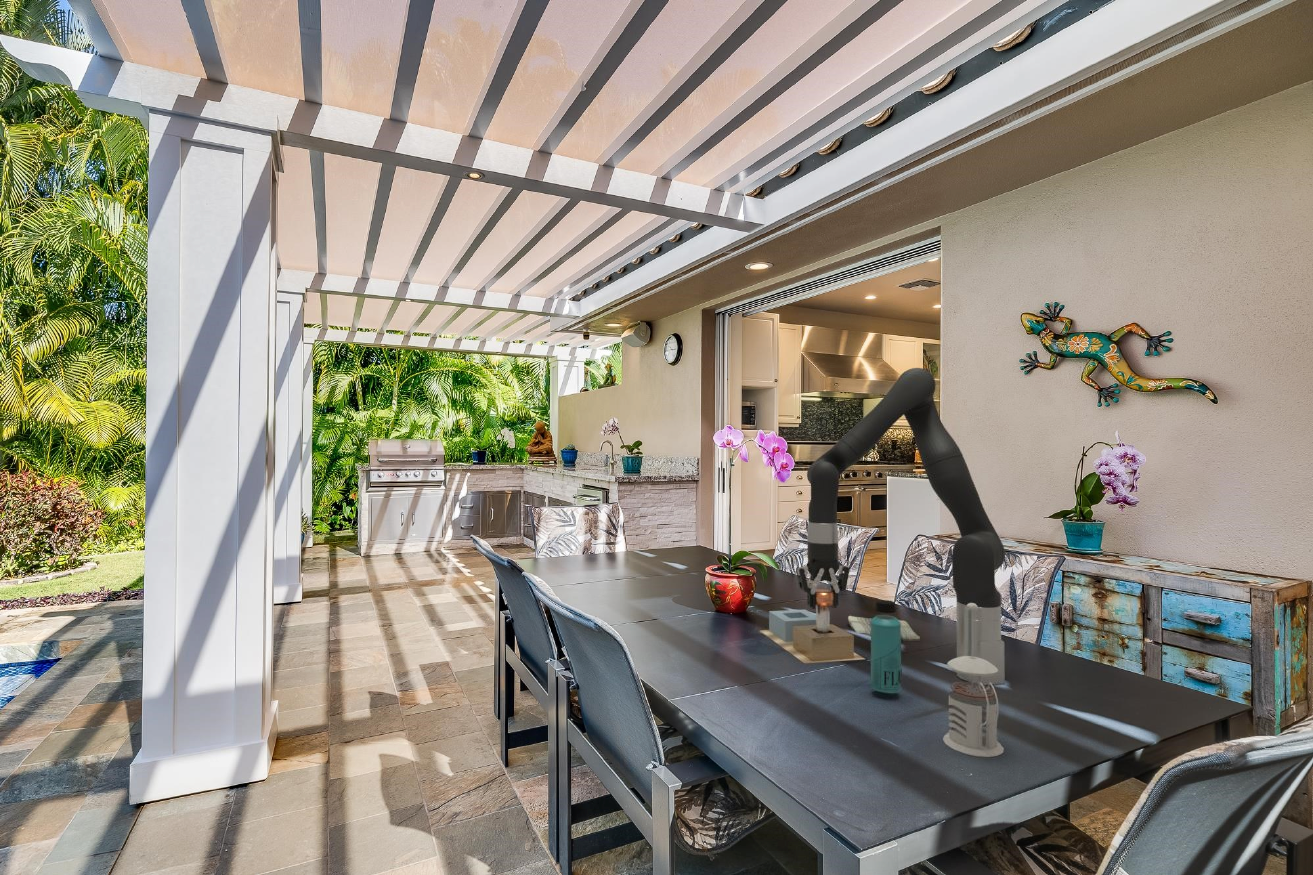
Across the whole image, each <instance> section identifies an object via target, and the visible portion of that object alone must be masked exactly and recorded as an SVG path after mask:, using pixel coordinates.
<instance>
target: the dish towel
mask: <svg viewBox="0 0 1313 875" xmlns="http://www.w3.org/2000/svg"><path fill="white" fill-rule="evenodd" d="M872 619H873V618H869V617H868V618H867V617H862V616H860V617H859V616H853V615H849V616H848V617H847V620H848V623H849V626H850V628H851V629H853V630H854V631H855V633H856V634H865V635H867V636H869V637H871V623H870V621H871V620H872ZM898 620H899V621H900V623H901V635H902V636H901V640H902V642H914V641H921V639H920V638H921V637H920V636H919V635H917V633H916V632H914V630H913V629H912V628H911V626H910V624H909V623H908V622H907V621H906V620H900V619H898Z"/></svg>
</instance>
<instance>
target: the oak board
mask: <svg viewBox="0 0 1313 875" xmlns="http://www.w3.org/2000/svg"><path fill="white" fill-rule="evenodd" d="M759 634H763V635H765V637H768V638H769V639H770V640H772V641H773V642H774V643H776V644H777V645H778V646H780V647H781V648H783V649H784V650H786V652H788V653H789V654H791V655H792V656H794V657H795V658H797V659H798V660H799V661H800V662H802V663H803V664H814V663H815V664H817V663H818V664H819V663H828V662H829V663H832V662H843V661H844V662H845V661H858V660H859V661H860V660H862V661H863V660H865V658H864V657H862V656H861V655H859V654H857V653H856V652H854V658H852V659H838V660H823V661H811V660H810V659H808V658H807V657H806V656H804V655H803V654H801V653H800V652H798V651H797V650H796V649H794V648H793V642H784V641H783V640H781V639H780V638H778V637H777V636H776V635H774V634H773V633H771V632H770V631H769V629H763V630H760V629H759Z"/></svg>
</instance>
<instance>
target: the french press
mask: <svg viewBox="0 0 1313 875" xmlns="http://www.w3.org/2000/svg"><path fill="white" fill-rule="evenodd" d="M966 609H967V610H971V631H972V656H962V657H958V658H957V657H955V658H952V659H951V660H948V662H947V663H946V664H947V666H948V667H949V669H950V670H952V671H954V672H956V673H957V672H959V673H962V674H966V675H972V682H969V681H957V682H953V683H952V684H951V685H950V688H951V691H949V693H948V706H951V707H949V708H948V713H949V714H950V713H951V714H950V715H949V716H948V720H950V722H948V727H949V728H950V727H951V728H950V729H949V730H948V732H947V733H945V734H944V735H943V737H942V741H943V742H944V743H945V745H947V746H948V747H949V748H951V749H952V750H955V751H957V752H960V753H963V754H965V755H971V756H975V757H984V758H986V757H987V758H989V757H996V756H997V757H998V756H999V755H1002V754H1003V753H1004V749H1005V748H1004V747H1003V746H1002V744H1001V743H1000V742H999V741H998V726H997V725H998V719H999V714H1000V713H999V698H998V696H997V692H996V690H995V687H994V684H991V683H990V682H989V683H988V685H982V683H981V682H980V683H979V684H977V683H973V676H991V675H994V674H996V673H997V671H998V669H997V668H996V667H995V666H994V665H992V664H991V663H989V662H988V661H986V660H984V659H981V658H978V657H974V656H973V611H977V610H978V606H977V605H976V604H974V603H969V604H967V607H966ZM980 684H981V685H980ZM990 686H991V687H990ZM974 704H978V705H974ZM982 705H983V706H985V707H986V708H983V706H982ZM983 713H986V715H983ZM983 720H985V721H984V722H983ZM983 727H986V729H983Z"/></svg>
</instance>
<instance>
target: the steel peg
mask: <svg viewBox="0 0 1313 875" xmlns="http://www.w3.org/2000/svg"><path fill="white" fill-rule="evenodd" d="M814 594H815V599H816V608H815V611H816V612H815V615H816V632H817V633H818V634H824V633H830V630H829V624H830V605H833V604H834V592H833V591H831V589H823V588H822V589H821V588H819V589H818V588H816V591H815V593H814Z"/></svg>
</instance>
